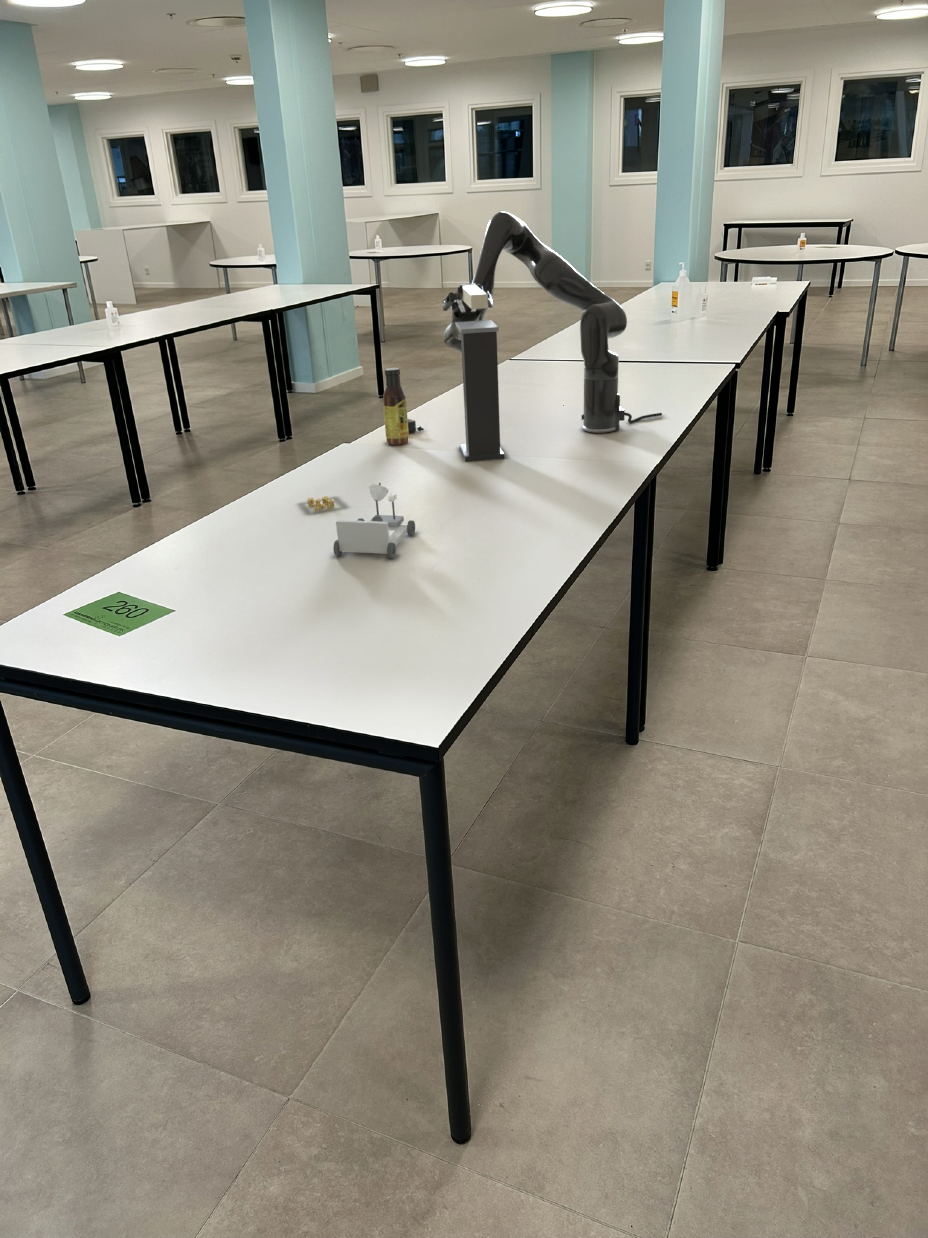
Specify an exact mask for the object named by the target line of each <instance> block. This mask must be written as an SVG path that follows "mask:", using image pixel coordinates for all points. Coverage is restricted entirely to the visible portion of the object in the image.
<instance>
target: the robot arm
mask: <svg viewBox="0 0 928 1238" xmlns="http://www.w3.org/2000/svg"><path fill="white" fill-rule="evenodd" d="M503 251H504V252H505V253H507V254H510V255H511V256H512V257H514V258H515V259H517V260H519V262H521V263H522V264H523V265H525V266H526V267H527V269H528V270H529V272H530V275H531V276H532V278H533V279H534V281H535V282H536V283H537V284H538V285H539V287H541V288H542V289H543V290H544V291H545V292H546V293H547V294H548V295H549V296H551V297H553V298H554V299H556V300H558V301H560V302H562V303H564V304H567V305H570V306H572V307H574V308H577V309H579V310H580V311H582V313H581V316H580V321H579V333H580V335H579V336H580V351H581V352H580V353H581V357H582V360H583V414H582V415H581V421H583V423H582V430H583V431H584V432H587V433H591V434H593V433H594V434H606V433H611V432H616V431H620V422H621V421H625V416H626V417H628V419H627V422H628V423H629V424H632V423H636V422H639V421H641V420H643V419H649V418H654V417H660V416H663V414H662V412H657V413H652V414H644V415H641V416H638V417H637V418H634V419H632V418H633V417H632V414H631V413H629V412H626V411H625V409H624V408H622V406H621V395H620V394H619V366H620V357H619V355H618V354H617V353H616V352H613V351H611V350H610V349H609V339H613V338H615V337H618V336H620V335H622V334H623V333H624V332H625V331H626V329H627V326H628V325H627V324H628V318H627V314H626V311H625V310H624V308H623V307H622V306H621V305H620V304H619V303H618V302H617V301H615V300H614V299H613V298H612V297H610V296H608V295H607V294H605V293H604V292H602V291H601V290H600V289H599V288H597V287H596V286H594V285H593V284H592V283H591V282H590V281H589V280H587V278H585V277H584V276H583V275H582V274H581V273H580V272H578V271H577V270H576V269H575V268H574V267H573V265H571V264H570V263H569V262H568V261H567V260H566V259H564V258H563V257H562V256H561V255H559V254H558V253H557V252H555V251H554V250H553V249H551V248H550V247H548V246H547V245H545V243H542V242H541V241H540V239H539V238H538V237H537V236H536V235H535V233H533V231H532V230H531V229H530V228H529V227H528V226H527V224H526V223H525V222H524V221H522V220H521V219H520V218H518V217H517V216H515V215H513V214H511V213H510V212H507V211H498V212H496V213H495V214H493V216H492V217H491V218H490V220H489V222H488V224H487V226H486V230H485V234H484V238H483V241H482V246H481V249H480V253H479V257H478V261H477V263H476V264H477V265H476V268H475V272H474V274H473V275H474V276H473V278H472V281H471V284H476V286H477V287H479V288H480V289H481V290H483V291H484V292H485V293H487V297H488V308H482V309H471V308H470V307H469V306H468V305H467V304H466V303H465V302H464V301H463V300H462V296H463V285H460V284H459V285H460V286H458V287H456V291H455V293H454V292H453V291H452V292H449V293H448V294H447V295H446V296H445V297H444V298H443V300H442V302H441V303H442V310H443V311H444V312H447V311H448V310H450V309H451V311H452V312H451V323H449V325H447V327H446V328H445V330H444V332H443V336H442V339H443V343H444V344H445V346H447V347H448V348H450V349H453V350H454V351H457V352H459V353H461V354H462V349H461V333H460V331H459V330H458V329H457V327H456V322H469V321H484V318H485V316H486V313H487V311H488V309H491V308H493V307H494V305H493V295H494V291H495V278H496V277H495V275H496V269H497V264H498V260H499V258H500V255H501V254H502V252H503Z"/></svg>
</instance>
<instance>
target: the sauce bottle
mask: <svg viewBox="0 0 928 1238" xmlns="http://www.w3.org/2000/svg"><path fill="white" fill-rule="evenodd" d="M384 375H385V385H386V387H385V390H384V391H383V394H382V400H383V401H382V402H383V419H384V428H385V429H384V431H385V438H386V444H388V445H390V446H400V445H405V444H407V443H409V436H410V435H409V434H410V433H408V419H409V418H408V407H407V405H408V404H407V397H406V395H405V392H404V390H403V388H402V385H401V376H400V375H401V368H399V367H388V368H385V369H384Z"/></svg>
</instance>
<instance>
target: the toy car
mask: <svg viewBox="0 0 928 1238" xmlns="http://www.w3.org/2000/svg"><path fill="white" fill-rule="evenodd" d="M368 490H369V493H370V496H371V498H372V499H373V500H374V502H375V509H376V514H374V516H372V518H371V519H370V520H365V519H364V518H362V517H360V518H358V519H357V520H353V519H351V520H350V519H337V520H336V521H335V526H336V534H337V539H336V540H335V541H334V543H333V547H332V548H333V550H332V551H333V554H334V556H336V557H337V556H338V557H340V556H342V554H343V552H345V553H346V552H347V553H363V554H384V555H385V554H386V556H387V558H388V559H394V558H395V557H396V554H397V545H399V543H400V542H401V541H402V539H403V538H404V537H405V536H406V535H408V536H414V535H415V533H416V522H415V520H411V519H410V520H408V521H407V524H403V522H404V521H405V518H404V515H396V511H395V501H396V500H397V497H398V496H397V493H393V492H392V493H390V494H389V495H388V493H389V489H388V488H387V487H386V486H384V485H382V483H381V482H378V484H371V485H369V487H368ZM387 495H388V497H387V499H388V502H391V509H392V514H391V515H389V514H380V511H379V502H380V501H382V500H383V499H384V498H385V497H386V496H387Z"/></svg>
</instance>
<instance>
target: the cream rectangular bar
mask: <svg viewBox="0 0 928 1238" xmlns="http://www.w3.org/2000/svg"><path fill="white" fill-rule="evenodd" d="M460 285H463V296H462V300H463V301H464V302H465V303H466V304H467V305H468V306H469V307H470V308H471V309H482V308H488V309H489V307H488V297H487V293H485V292H484V291H483V290H481V289H480V288H479V287H477V286H476V284H472V283H462V284H459V286H460ZM459 286H458V287H459Z"/></svg>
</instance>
